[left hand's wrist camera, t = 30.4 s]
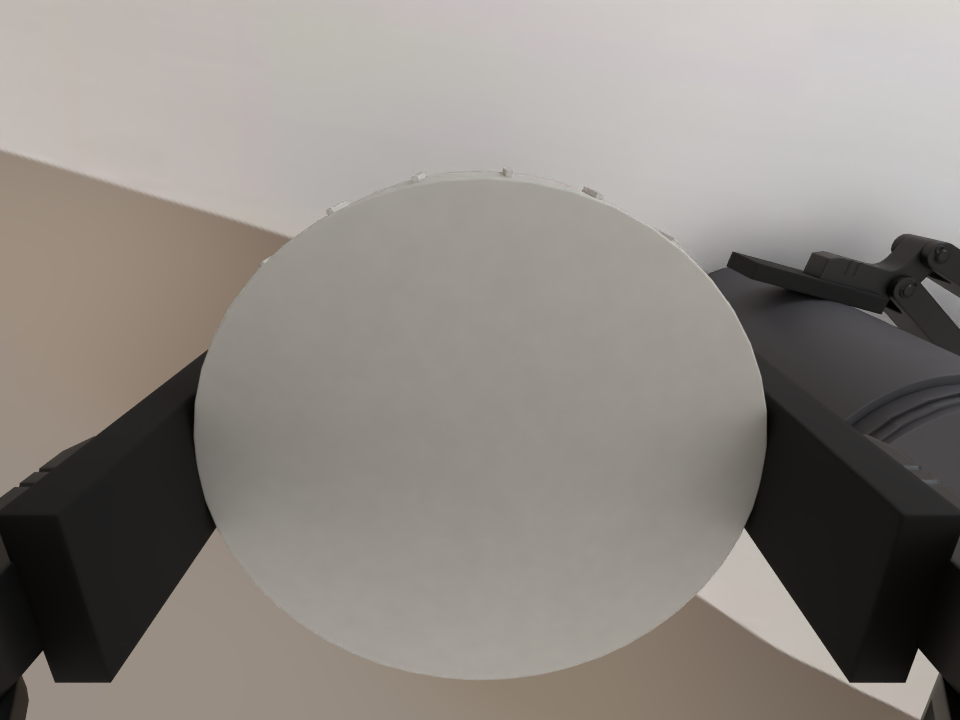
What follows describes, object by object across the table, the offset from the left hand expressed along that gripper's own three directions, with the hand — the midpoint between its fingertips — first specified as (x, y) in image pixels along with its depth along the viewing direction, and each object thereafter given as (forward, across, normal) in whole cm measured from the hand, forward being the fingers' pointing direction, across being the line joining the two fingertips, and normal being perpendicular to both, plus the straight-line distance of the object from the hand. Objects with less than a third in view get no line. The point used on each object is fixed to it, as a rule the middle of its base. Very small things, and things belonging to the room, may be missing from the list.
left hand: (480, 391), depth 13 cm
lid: (-3, 0, 0) cm, 3 cm away
